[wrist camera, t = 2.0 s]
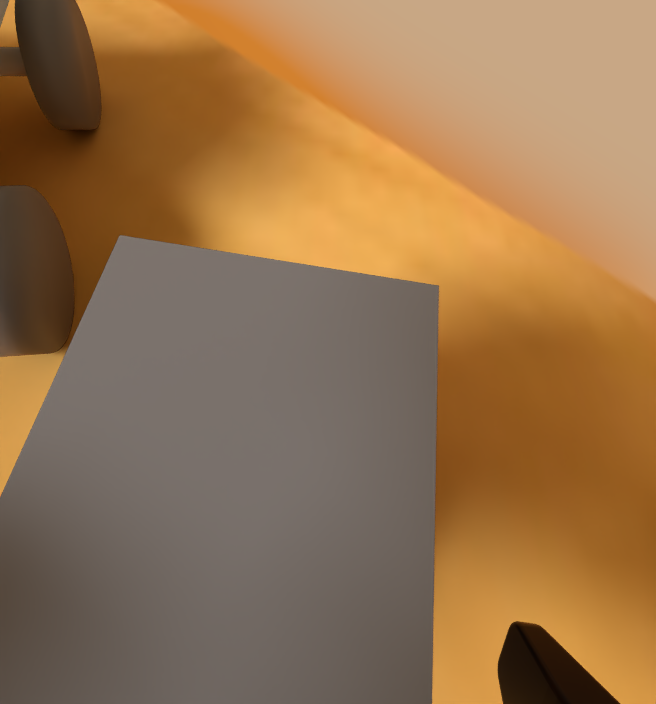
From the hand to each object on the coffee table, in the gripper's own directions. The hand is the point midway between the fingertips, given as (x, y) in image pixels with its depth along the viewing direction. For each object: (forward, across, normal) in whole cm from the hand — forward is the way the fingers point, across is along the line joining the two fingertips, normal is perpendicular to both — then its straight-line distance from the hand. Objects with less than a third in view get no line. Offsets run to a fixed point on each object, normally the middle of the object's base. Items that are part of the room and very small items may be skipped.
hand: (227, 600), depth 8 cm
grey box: (+9, 0, +4) cm, 10 cm away
